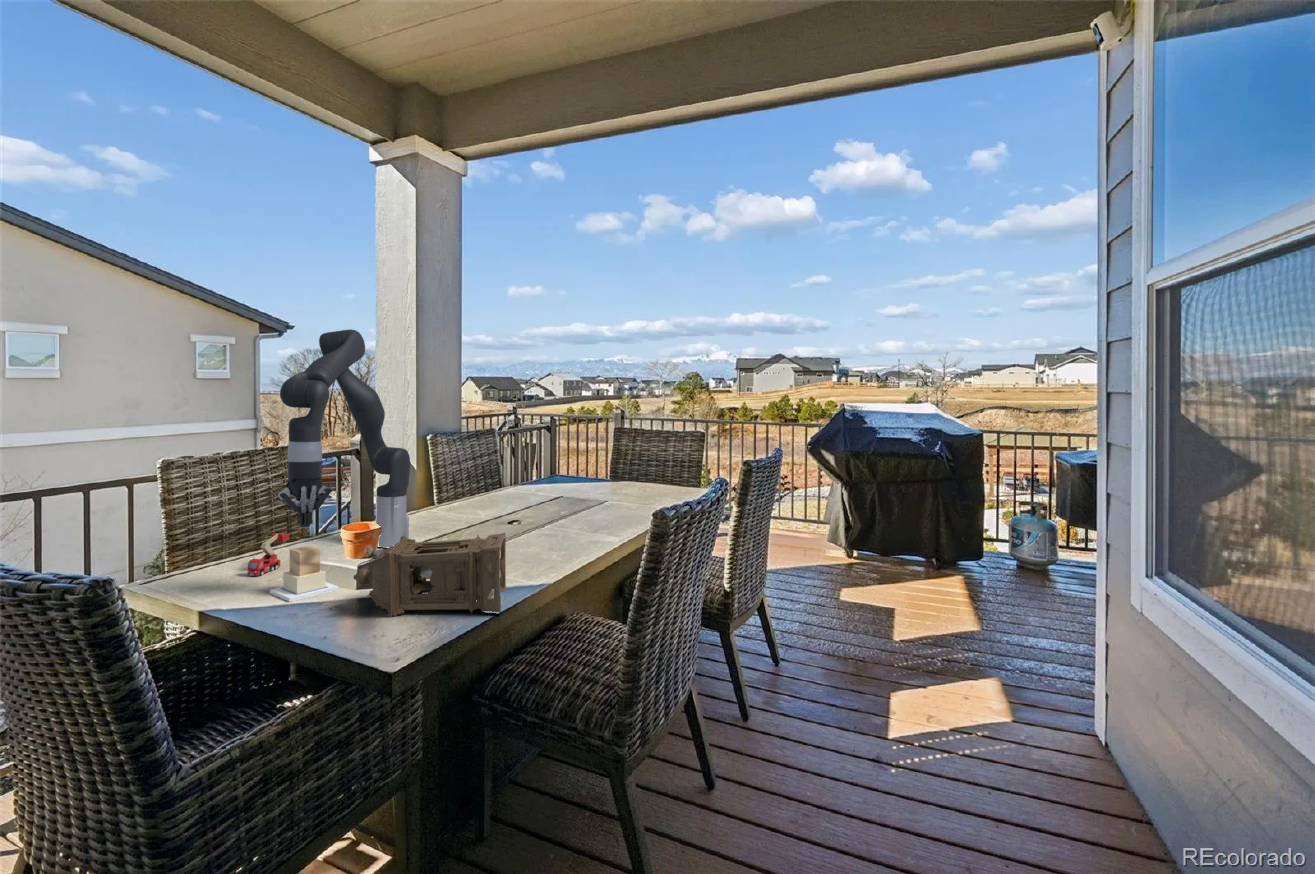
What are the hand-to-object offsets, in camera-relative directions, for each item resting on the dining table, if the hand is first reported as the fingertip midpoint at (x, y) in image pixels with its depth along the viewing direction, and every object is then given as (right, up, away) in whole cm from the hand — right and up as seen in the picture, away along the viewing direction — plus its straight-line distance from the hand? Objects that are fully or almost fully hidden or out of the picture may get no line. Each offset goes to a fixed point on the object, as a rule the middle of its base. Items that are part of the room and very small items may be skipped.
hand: (304, 526), depth 154 cm
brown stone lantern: (+34, -19, -5) cm, 39 cm away
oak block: (0, -12, +1) cm, 12 cm away
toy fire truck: (-21, -15, +18) cm, 31 cm away
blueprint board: (-1, -17, +1) cm, 17 cm away
